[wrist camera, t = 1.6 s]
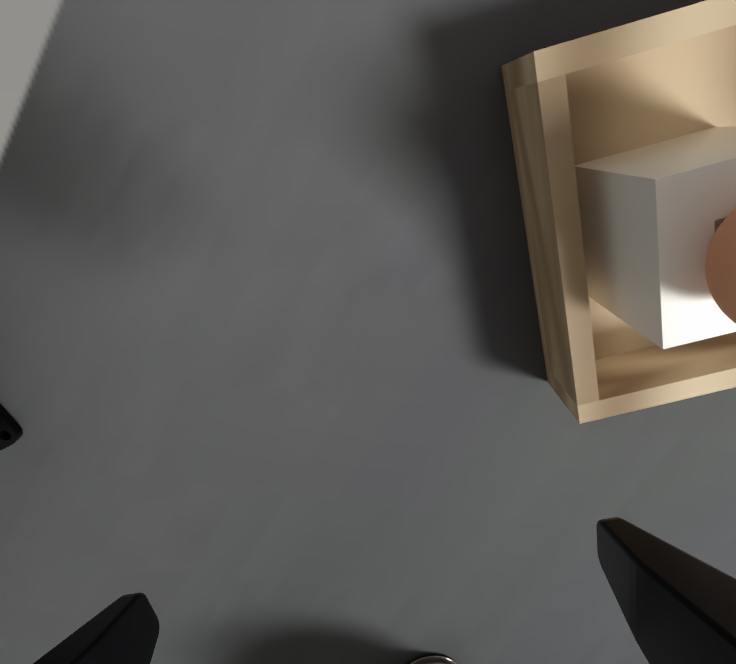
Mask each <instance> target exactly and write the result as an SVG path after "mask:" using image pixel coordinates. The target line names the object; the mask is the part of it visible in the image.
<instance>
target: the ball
mask: <svg viewBox="0 0 736 664" xmlns="http://www.w3.org/2000/svg"><path fill="white" fill-rule="evenodd" d="M705 272H706V280H707V284H708V287H709V290H710V293H711V295H712V297H713V299H714V301H715V302H716V304H717V305H718V307H719V308H720V309H721V311H722V312H723V313H724V314H725V315H726V316H727V317H728V318H729V319H731V320H732V321H733V322H734V323H735V324H736V209H734V210H733V211H732V212H731V213H730V214H729V215H728V216H727V217H726V218H725V220H724V221H723V222H722V223H721V225H720V226H719V228H718V229H717V231H716V232H715V234H714V236H713V238H712V240H711V242H710V245H709V248H708V252H707V256H706V265H705Z"/></svg>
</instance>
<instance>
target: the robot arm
mask: <svg viewBox="0 0 736 664" xmlns="http://www.w3.org/2000/svg"><path fill="white" fill-rule="evenodd" d="M6 431H7V432H9V433H10V435H9V434H8V433H6ZM22 434H23V431H22V428H21V427H20V425H19V424H18V423H17V422H16V421H15V420H14V419H13V418H12V417H11V415H10V414H9V413H8V412H7V411H6V410H5V409H4V408H3V407H2V406H1V405H0V450H2V449H4V448H6V447H8V446H10V445H12V444H14V443H15V442H16V441H17V440H18V439H19V438H20V437H21V436H22ZM597 551H598V557H599V561H600V564H601V567H602V569H603V571H604V573H605V575H606V578H607V580H608V582H609V584H610V586H611V588H612V590H613V593H614V595H615V597H616V599H617V601H618V603H619V606H620V608H621V610H622V612H623V614H624V616H625V618H626V621H627V623H628V625H629V627H630V629H631V631H632V633H633V635H634V637H635V639H636V641H637V643H638V645H639V647H640V648H641V650H642V652H643V654H644V655H645V657H646V659H647V660H648V662H649V664H736V579H735V578H733V577H731V576H729V575H727V574H725V573H724V572H722V571H720V570H718V569H716V568H714V567H712V566H710V565H708V564H707V563H705V562H703V561H701V560H699V559H697V558H695V557H693V556H692V555H690V554H688V553H686V552H684V551H682V550H680V549H678V548H676V547H675V546H673V545H671V544H669V543H667V542H665V541H663V540H661V539H660V538H658V537H656V536H654V535H652V534H650V533H648V532H646V531H644V530H643V529H641V528H639V527H637V526H635V525H633V524H631V523H629V522H627V521H626V520H624V519H621V518H619V517H615V518H608V519H602V520H599V521H598V522H597ZM158 634H159V621H158V618H157V616H156V614H155V612H154V610H153V608H152V606H151V604H150V603H149V601H148V599H147V597H146V595H144V594H143V593H134V594H127V595H123V596H122V597H120V598H119V599H117V600H116V601H115V602H113V603H112V604H111V605H109V606H108V607H107V608H105V609H104V610H103V611H102V612H100V613H99V614H98V615H96V616H95V617H94V618H92V619H91V620H90V621H88V622H87V623H86V624H84V625H83V626H82V627H81V628H79V629H78V630H77V631H75V632H74V633H73V634H71V635H70V636H69V637H67V638H66V639H65V640H63V641H62V642H61V643H60V644H58V645H57V646H56V647H54V648H53V649H52V650H50V651H49V652H48V653H46V654H45V655H44V656H43V657H41V658H40V659H39V660H37V661H36V662H35V663H33V664H150V662H151V659H152V655H153V652H154V648H155V645H156V642H157V638H158Z"/></svg>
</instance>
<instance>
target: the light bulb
mask: <svg viewBox="0 0 736 664" xmlns="http://www.w3.org/2000/svg"><path fill="white" fill-rule="evenodd" d="M410 664H457V663H456V662H455V661H453V660H452V659H450V658H447V657H444V656H427V657H423V658H420V659H418V660H416V661H414V662H412V663H410Z"/></svg>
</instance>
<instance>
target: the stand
mask: <svg viewBox="0 0 736 664" xmlns="http://www.w3.org/2000/svg"><path fill="white" fill-rule="evenodd" d="M575 171H576V181H577V191H578V200H579V210H580V219H581V229H582V239H583V248H584V258H585V268H586V277H587V287H588V296H589V297H590V298H592V299H593V300H594V301H596V302H597V303H599V304H600V305H601V306H603V307H604V308H606V309H607V310H608V311H610V312H611V313H613V314H614V315H615V316H617V317H618V318H620V319H621V320H622V321H624V322H625V323H627V324H628V325H629V326H631V327H632V328H634V329H635V330H637V331H638V332H639V333H641V334H642V335H644V336H645V337H646V338H648V339H649V340H651V341H652V342H653V343H655V344H656V345H658V346H659V347H660V348H662V349H667V348H671V347H675V346H679V345H683V344H687V343H691V342H695V341H699V340H704V339H708V338H712V337H716V336H720V335H724V334H728V333H732V332H736V324H735V323H734V322H733V321H732V320H731V319H729V318H728V317H727V316H726V315H725V314H724V313H723V312H722V311H721V309H720V308H719V307H718V305H717V304H716V302H715V301H714V299H713V297H712V295H711V293H710V290H709V287H708V284H707V280H706V272H705V265H706V256H707V252H708V248H709V245H710V242H711V240H712V238H713V236H714V234H715V232H716V231H717V229H718V228H719V226H720V225H721V223H722V222H723V221H724V220H725V218H726V217H727V216H728V215H729V214H730V213H731V212H732V211H733V210H734V209H736V126H729V127H713V128H709V129H705V130H702V131H698V132H694V133H691V134H687V135H684V136H680V137H676V138H673V139H669V140H665V141H662V142H658V143H655V144H651V145H647V146H644V147H640V148H636V149H633V150H629V151H626V152H622V153H618V154H615V155H611V156H607V157H604V158H600V159H597V160H593V161H589V162H586V163H582V164H578V165H575Z"/></svg>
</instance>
